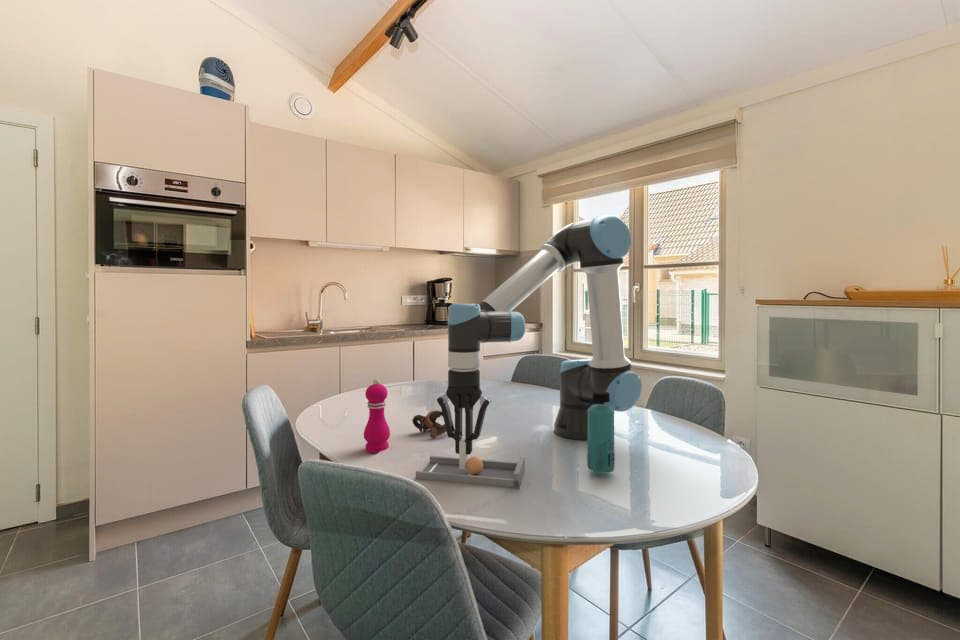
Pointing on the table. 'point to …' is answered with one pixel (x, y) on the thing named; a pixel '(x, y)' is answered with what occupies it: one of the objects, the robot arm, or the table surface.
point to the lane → (490, 474)
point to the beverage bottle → (600, 435)
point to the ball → (474, 465)
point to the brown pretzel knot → (430, 423)
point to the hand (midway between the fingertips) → (463, 466)
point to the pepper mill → (376, 419)
